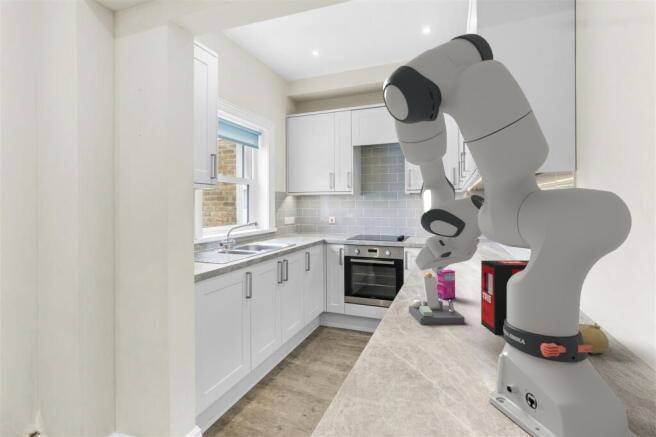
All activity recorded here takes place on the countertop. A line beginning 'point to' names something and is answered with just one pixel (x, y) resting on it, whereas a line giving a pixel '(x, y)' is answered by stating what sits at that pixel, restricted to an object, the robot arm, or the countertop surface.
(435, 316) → the panel
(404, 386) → the countertop surface
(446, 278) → the supplement box
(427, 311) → the rocker
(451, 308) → the toggle
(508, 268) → the cleaning product box
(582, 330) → the onion
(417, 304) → the button
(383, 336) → the countertop surface
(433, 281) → the lever
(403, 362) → the countertop surface
